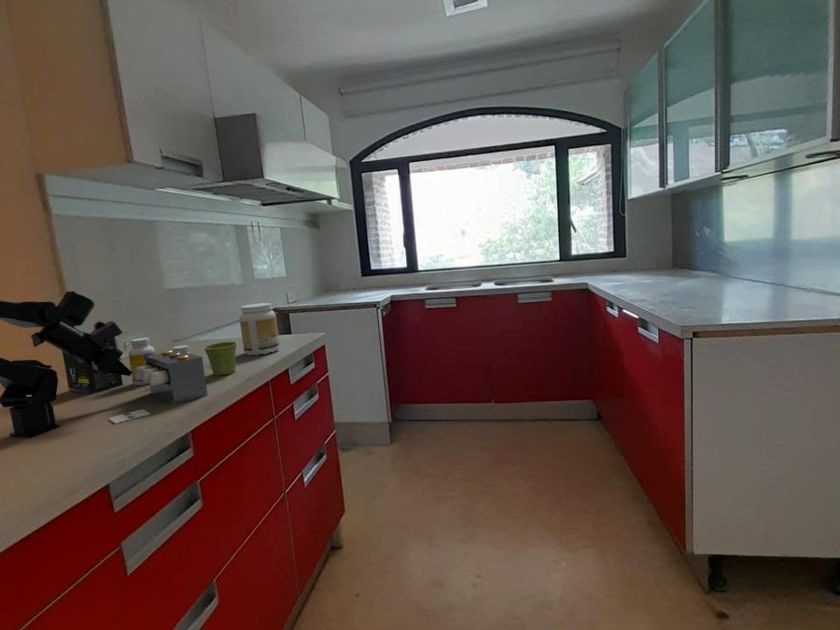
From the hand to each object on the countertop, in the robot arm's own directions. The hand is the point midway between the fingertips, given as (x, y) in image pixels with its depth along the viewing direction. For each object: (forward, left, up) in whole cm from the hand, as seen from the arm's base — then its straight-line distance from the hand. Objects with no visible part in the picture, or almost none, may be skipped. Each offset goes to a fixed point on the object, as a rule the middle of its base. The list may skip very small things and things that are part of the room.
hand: (130, 374), depth 124 cm
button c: (+2, -2, -2) cm, 4 cm away
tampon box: (+9, +23, -7) cm, 25 cm away
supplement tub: (+52, -3, -7) cm, 52 cm away
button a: (-3, -11, -2) cm, 12 cm away
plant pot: (+25, -8, -7) cm, 27 cm away
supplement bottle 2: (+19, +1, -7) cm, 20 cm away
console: (+5, -9, -7) cm, 12 cm away
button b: (0, -6, -2) cm, 7 cm away
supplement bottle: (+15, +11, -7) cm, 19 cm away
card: (-12, -11, -7) cm, 17 cm away
